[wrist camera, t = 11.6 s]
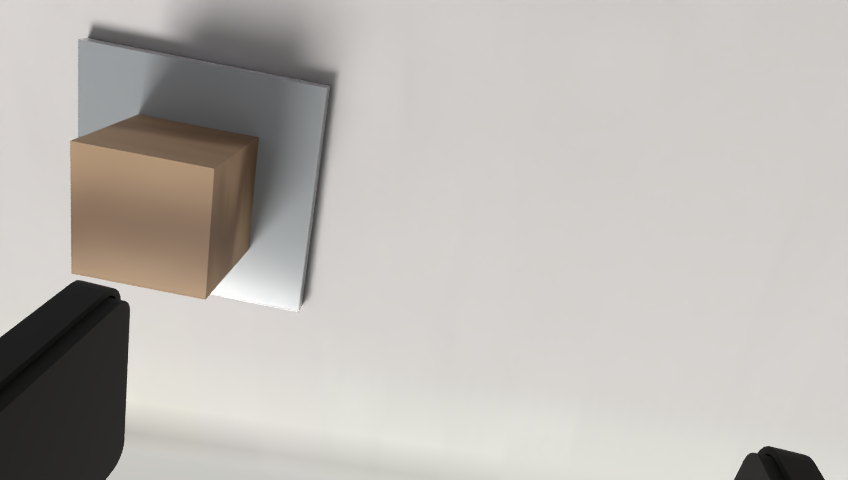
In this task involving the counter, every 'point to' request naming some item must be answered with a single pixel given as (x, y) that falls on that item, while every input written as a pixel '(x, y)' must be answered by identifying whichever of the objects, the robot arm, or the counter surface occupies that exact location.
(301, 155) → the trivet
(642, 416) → the counter surface
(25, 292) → the counter surface
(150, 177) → the walnut cube
